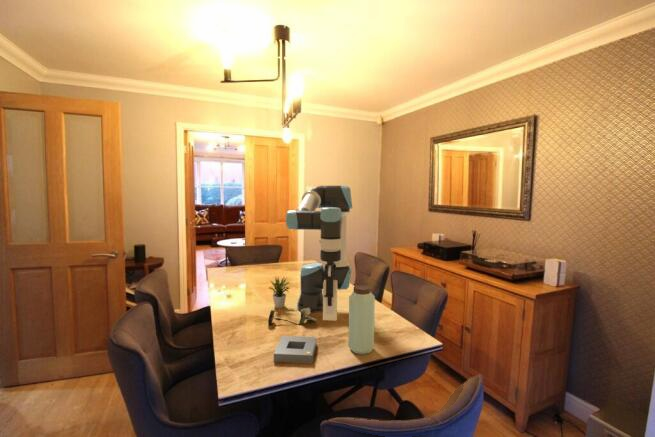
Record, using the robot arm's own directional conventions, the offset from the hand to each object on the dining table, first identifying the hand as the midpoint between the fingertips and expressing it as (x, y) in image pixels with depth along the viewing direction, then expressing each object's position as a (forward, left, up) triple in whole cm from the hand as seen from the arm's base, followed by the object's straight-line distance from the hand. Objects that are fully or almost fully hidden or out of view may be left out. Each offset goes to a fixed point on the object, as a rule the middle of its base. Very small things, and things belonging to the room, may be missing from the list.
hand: (330, 311), depth 117 cm
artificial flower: (-28, -19, -18) cm, 38 cm away
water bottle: (-6, +12, -17) cm, 22 cm away
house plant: (-47, -30, -17) cm, 58 cm away
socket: (-1, -13, -17) cm, 22 cm away
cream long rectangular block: (0, 0, -3) cm, 3 cm away
